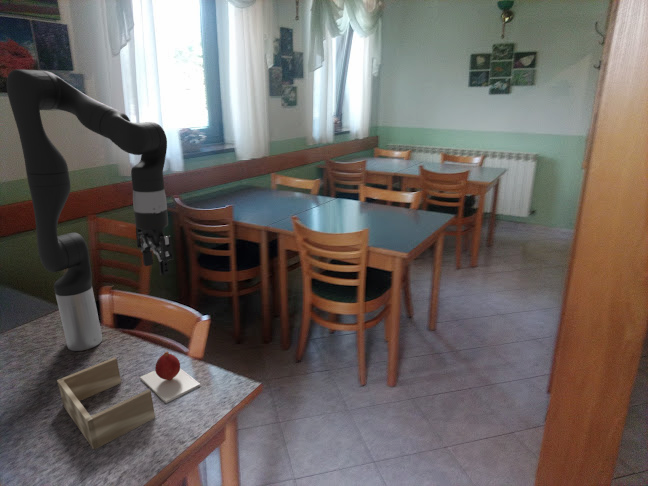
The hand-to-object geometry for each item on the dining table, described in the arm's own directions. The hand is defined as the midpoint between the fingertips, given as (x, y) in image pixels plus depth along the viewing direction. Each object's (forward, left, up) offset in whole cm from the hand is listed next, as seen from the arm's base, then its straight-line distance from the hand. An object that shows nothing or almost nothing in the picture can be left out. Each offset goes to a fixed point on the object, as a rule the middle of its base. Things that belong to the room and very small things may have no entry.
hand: (156, 269), depth 111 cm
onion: (+9, -5, -26) cm, 28 cm away
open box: (+9, -20, -27) cm, 34 cm away
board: (+9, -5, -27) cm, 28 cm away
